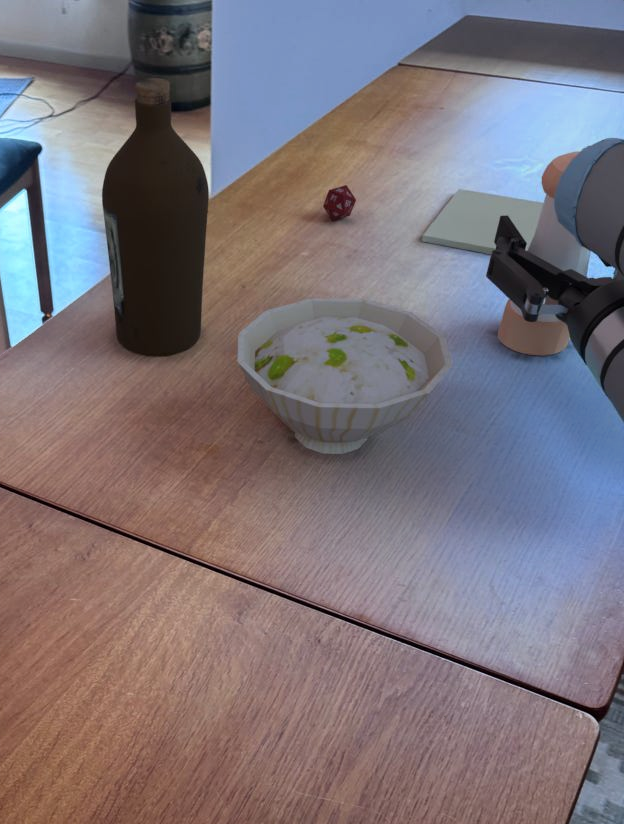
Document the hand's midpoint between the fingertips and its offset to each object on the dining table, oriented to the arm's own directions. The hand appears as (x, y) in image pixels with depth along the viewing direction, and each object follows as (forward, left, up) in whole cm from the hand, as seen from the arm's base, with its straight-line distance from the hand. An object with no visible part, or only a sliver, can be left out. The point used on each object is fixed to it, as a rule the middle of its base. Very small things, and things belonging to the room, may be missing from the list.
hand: (546, 227), depth 94 cm
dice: (+28, -16, -10) cm, 34 cm away
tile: (+8, -22, -10) cm, 25 cm away
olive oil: (+35, +21, -10) cm, 42 cm away
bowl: (+11, +30, -10) cm, 33 cm away
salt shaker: (-2, +4, -10) cm, 11 cm away
